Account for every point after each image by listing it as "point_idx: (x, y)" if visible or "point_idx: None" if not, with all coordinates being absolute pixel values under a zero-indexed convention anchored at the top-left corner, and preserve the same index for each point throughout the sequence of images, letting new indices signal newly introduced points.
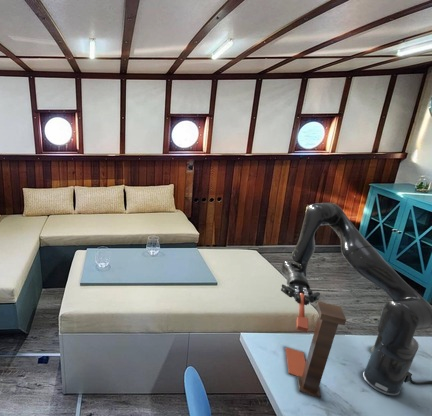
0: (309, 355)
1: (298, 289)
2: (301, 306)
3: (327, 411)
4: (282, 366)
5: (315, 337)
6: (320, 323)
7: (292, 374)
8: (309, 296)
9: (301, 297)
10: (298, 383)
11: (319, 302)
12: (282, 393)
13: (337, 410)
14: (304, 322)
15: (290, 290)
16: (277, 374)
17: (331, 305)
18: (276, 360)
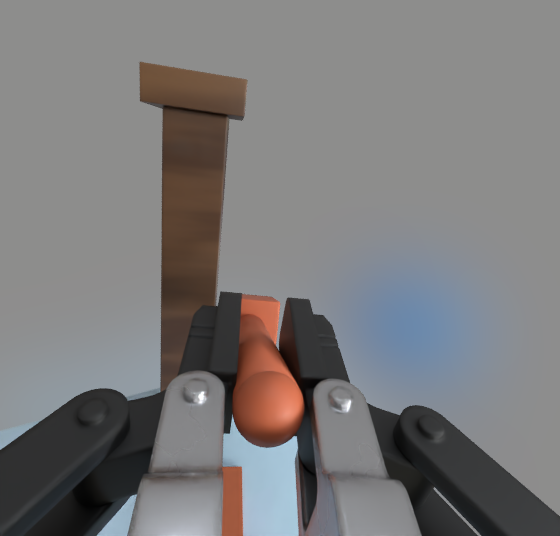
0: None
1: (346, 515)
2: (262, 332)
3: (157, 388)
4: (262, 497)
5: (220, 237)
6: (226, 157)
7: (229, 468)
8: (141, 427)
9: (273, 353)
10: None
11: (239, 79)
12: None
13: (126, 398)
14: (243, 296)
15: (448, 441)
16: (277, 450)
17: (185, 70)
18: (286, 522)
